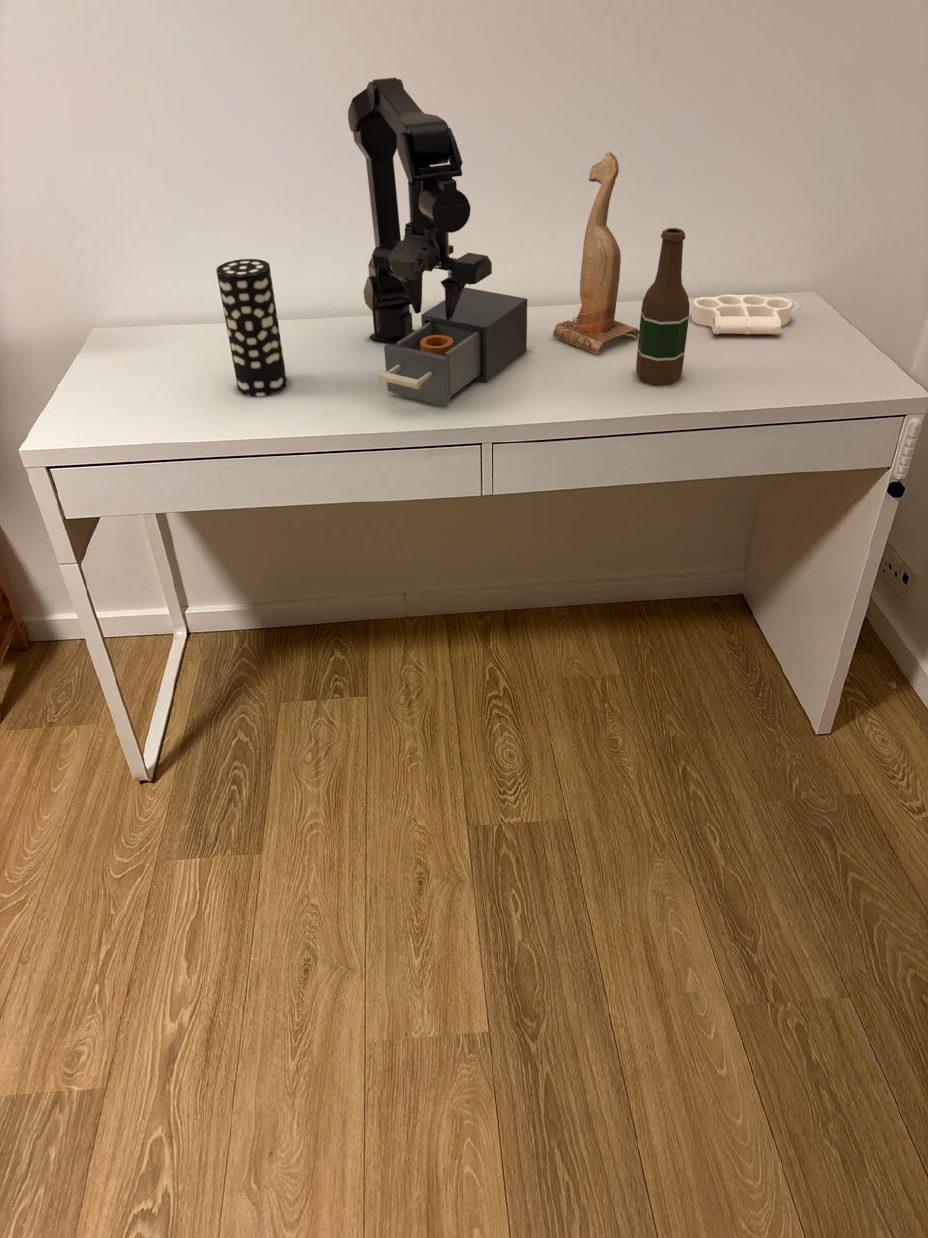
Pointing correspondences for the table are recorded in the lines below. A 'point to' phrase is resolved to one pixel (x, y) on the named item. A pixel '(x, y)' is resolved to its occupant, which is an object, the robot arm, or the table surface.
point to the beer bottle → (664, 317)
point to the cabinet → (489, 326)
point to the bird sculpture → (598, 272)
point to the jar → (436, 344)
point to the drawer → (433, 363)
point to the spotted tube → (252, 326)
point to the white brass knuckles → (742, 314)
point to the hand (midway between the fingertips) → (433, 315)
